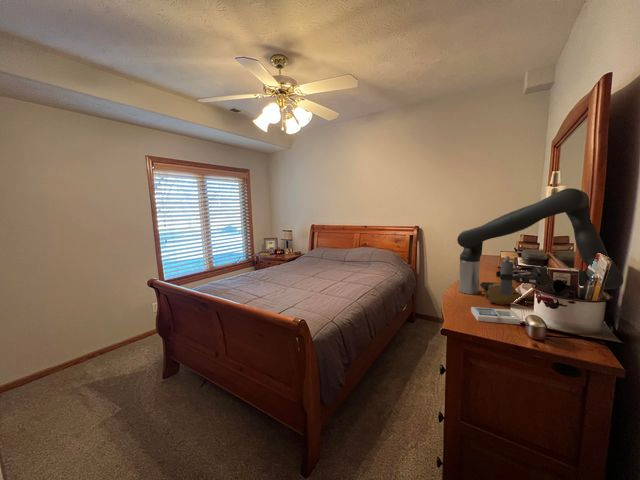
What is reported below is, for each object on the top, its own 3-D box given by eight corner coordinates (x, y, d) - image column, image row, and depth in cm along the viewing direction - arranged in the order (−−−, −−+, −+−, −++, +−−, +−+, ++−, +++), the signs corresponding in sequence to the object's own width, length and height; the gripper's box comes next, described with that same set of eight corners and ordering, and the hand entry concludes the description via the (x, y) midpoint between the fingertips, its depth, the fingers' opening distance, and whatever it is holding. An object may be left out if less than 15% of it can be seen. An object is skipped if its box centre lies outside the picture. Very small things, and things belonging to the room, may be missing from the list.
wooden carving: (519, 303, 122) (520, 282, 121) (523, 306, 118) (525, 285, 117) (479, 300, 127) (480, 280, 126) (482, 304, 123) (483, 283, 121)
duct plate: (471, 311, 115) (471, 305, 114) (511, 314, 110) (511, 308, 110) (477, 320, 105) (478, 314, 105) (522, 324, 101) (522, 318, 100)
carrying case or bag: (485, 292, 140) (517, 293, 136) (485, 286, 139) (517, 288, 136) (478, 286, 150) (508, 287, 146) (479, 281, 150) (508, 282, 146)
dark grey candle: (497, 292, 108) (499, 255, 106) (509, 292, 107) (511, 255, 105) (501, 295, 104) (503, 257, 102) (513, 295, 103) (515, 257, 101)
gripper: (540, 264, 107) (492, 262, 112) (561, 272, 93) (505, 270, 98) (539, 281, 108) (491, 279, 113) (559, 292, 94) (504, 289, 99)
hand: (498, 275), depth 105 cm, fingers closed on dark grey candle, 4 cm apart
